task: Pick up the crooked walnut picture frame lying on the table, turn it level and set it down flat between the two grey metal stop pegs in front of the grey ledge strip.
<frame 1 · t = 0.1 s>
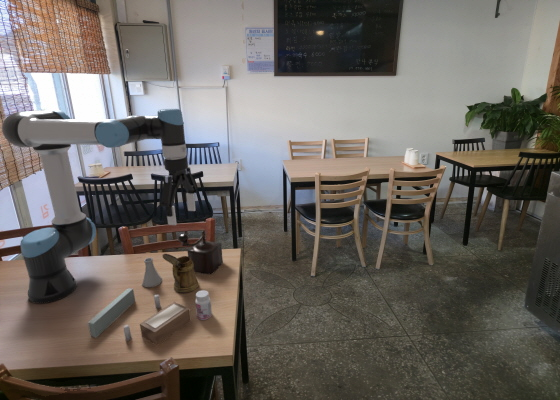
hand: (182, 217, 122), 28 cm above the table, tool pointing down, fingers open, 13 cm apart
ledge: (114, 317, 115), on the table
frame: (167, 329, 109), on the table
pill bottle: (204, 316, 115), on the table
wooden mug: (182, 290, 130), on the table
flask: (152, 283, 135), on the table
dark brown coffee grinder: (203, 270, 143), on the table
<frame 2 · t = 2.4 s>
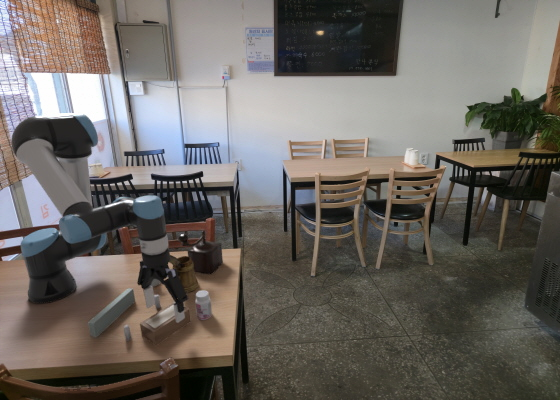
hand: (165, 312, 107), 6 cm above the table, tool pointing down, fingers open, 13 cm apart
nothing on the table moved.
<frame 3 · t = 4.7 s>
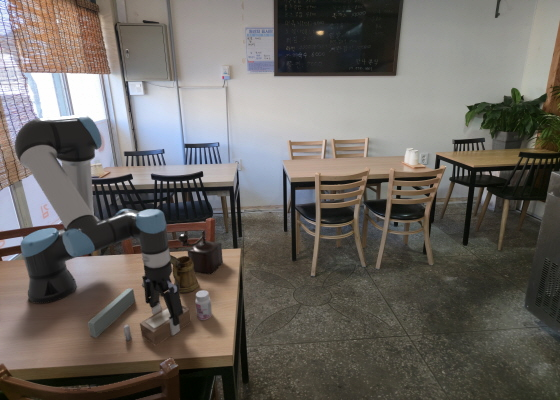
hand: (167, 328, 109), 0 cm above the table, tool pointing down, fingers closed on frame, 7 cm apart
frame: (167, 329, 109), on the table, touching gripper
everything else where it was.
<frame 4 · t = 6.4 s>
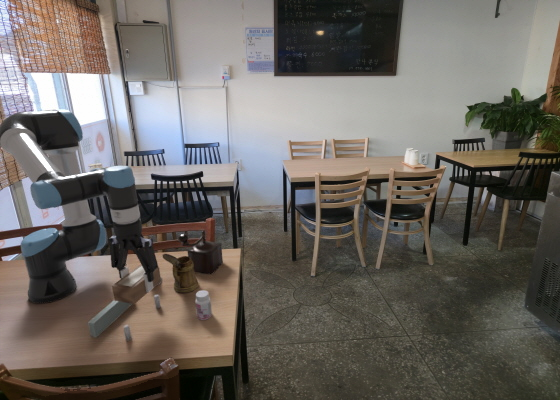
hand: (138, 288, 108), 12 cm above the table, tool pointing down, fingers closed on frame, 7 cm apart
frame: (138, 290, 108), point 12 cm above the table, touching gripper
everything else where it was.
when the fingers open (0 cm above the table, at t = 8.0 s): frame stays where it is, on the table.
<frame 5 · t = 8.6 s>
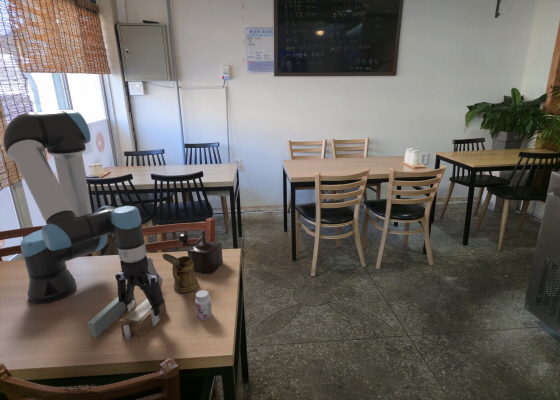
hand: (145, 321, 112), 0 cm above the table, tool pointing down, fingers open, 7 cm apart
frame: (145, 322, 112), on the table
everything else where it was.
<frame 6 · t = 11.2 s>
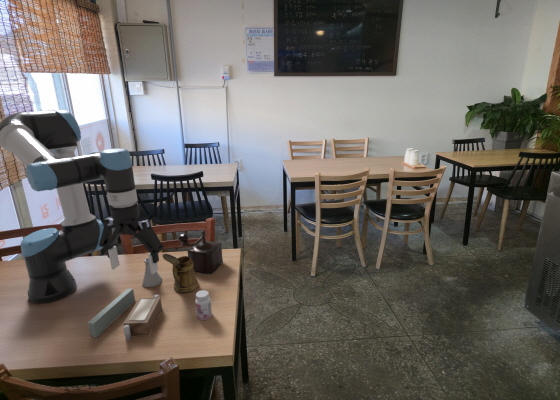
hand: (135, 269, 107), 19 cm above the table, tool pointing down, fingers open, 13 cm apart
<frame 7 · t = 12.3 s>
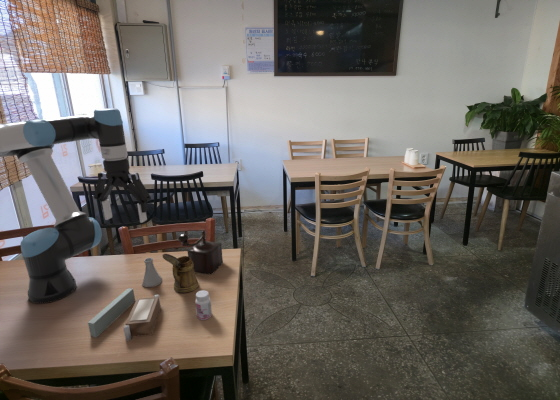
hand: (126, 219, 119), 29 cm above the table, tool pointing down, fingers open, 13 cm apart
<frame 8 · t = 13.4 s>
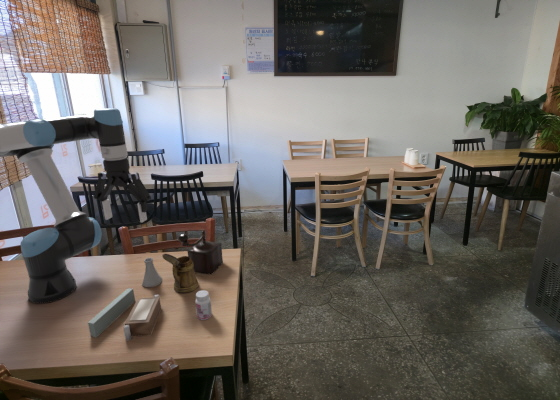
hand: (126, 219, 119), 29 cm above the table, tool pointing down, fingers open, 13 cm apart
at the end: frame inside the target area (0.3 cm from its centre), on the table; frame tilted 0°; the gripper is holding nothing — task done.
